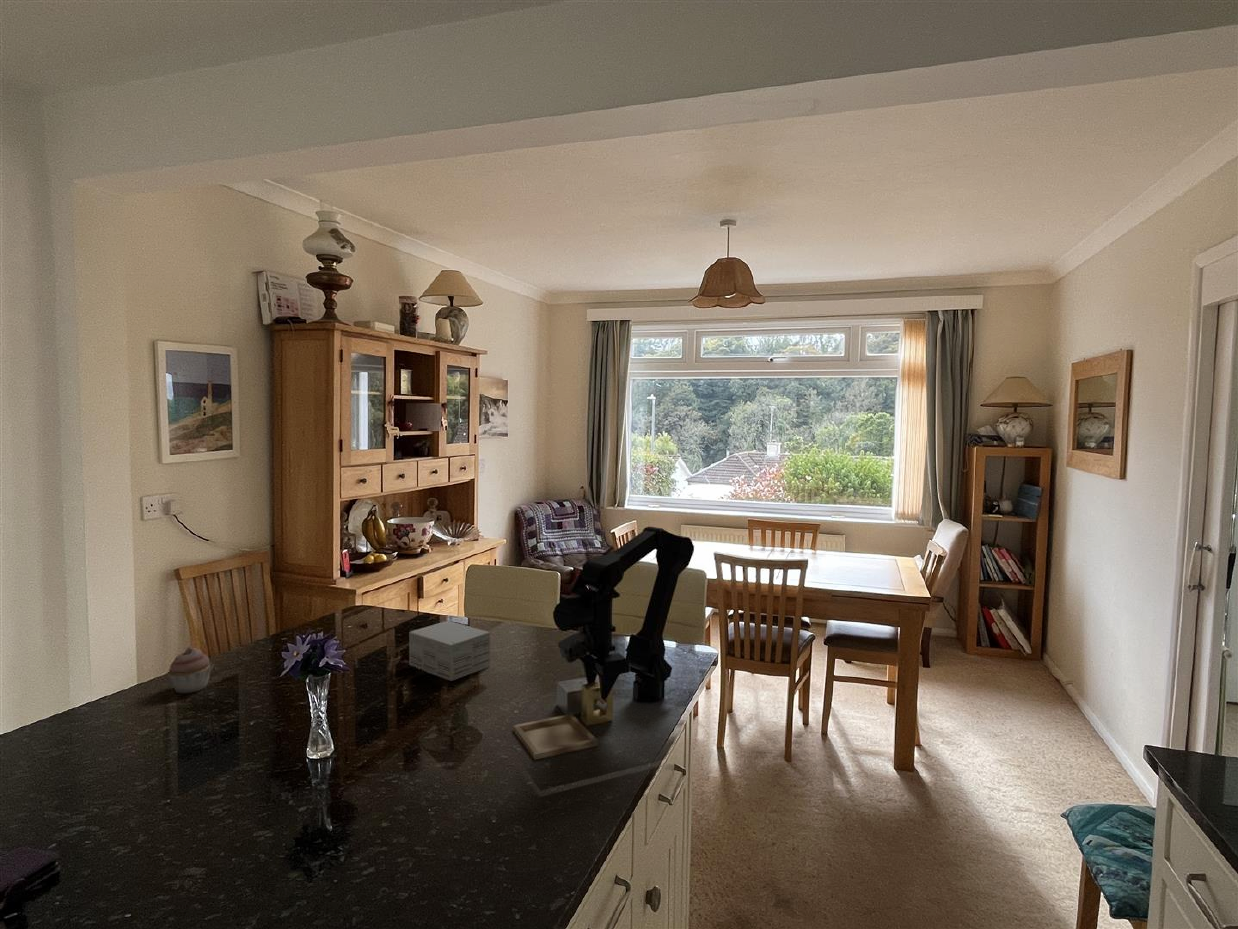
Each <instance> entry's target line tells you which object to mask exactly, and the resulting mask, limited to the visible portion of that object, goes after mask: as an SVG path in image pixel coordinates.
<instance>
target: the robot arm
mask: <svg viewBox="0 0 1238 929" xmlns="http://www.w3.org/2000/svg"><path fill="white" fill-rule="evenodd" d="M654 550H656V551H655V560H656V564H657V568H658V570H657V573H656V577H655V581H654V584H653V588H652V591H651V595H650V597H649V598H650V599H649V602H648V605H647V608H646V611H645V615H644V620H643V623H642V626H641V628H640V630H639V631H638V632H637V633H636V634H633V633H632V634H630V635H629V638H628V643H627V647H626V649H624V652H626V654H625V656H624V655H622V654H621V653H619V652H617V653H612V654H610V653H611V652H615V651H616V645H614V643H613V642H612V640H613V639H612V638H613V633H616V631H617V630H616V628H617V627H616V626H615V625H614V624H613V599H618V598H620V596H621V593H619V592H618V591H617V590H616V589H615V588H616V587H617V586H618V585H619V584H620V583H621V581H623V579H624V576H625V572H626V571H627V570H629V569H630V568H631V567H632V566H634V565H636V563H638V562H639V561H641V560H642V559H644V558H645V557H646V556H648V555H649V554H650V553H651V552H653V551H654ZM694 550H695V545H694V543H693V541H692V539H691V538H690V537H688V536H684V535H683V536H682V535H677V534H674V533H671V532H669V531H667V530H665V529H664V528H661V527H654V526H650V525H649V526H647V527H644V528H643V529H642V531H641V532H640V533H638V534H637V535H636V536H635V535H634V537H632V538H631V539H630V540H628V541H627V542H625V543H624V544H623V545H621V546H619V547H618V548H617V549H616V550H613V551H612V552H610V553H607V554H603V555H599V556H595V557H593V558H591V559H589V560H587V561H586V562H584V564H583V565H582V569H581V570H580V572H579V574H578V576H577V577H576V580H575V582H574V584H573V586H572V587H571V590H570V595H562V596H560V598H559V602H557V604H556V605H555V607H554V610H553V611H552V615H553V616H552V617H553V622H554V624H555V626H556V627H557V628H558V630H560V631H561V632H568V631H571V630H575V629H579V628H580V629H579V631H578V632H577V633H575V634H574V633H573V634H572V635H570V636H567V637H565V638H564V639H562V640H560V641H559V642H558V643H557V646H558V648H559V651H560V655H561V657H562V658H563V659H564V660H565V661H567V663H573V662H575V661H576V660H579V661H580V662H581V664H582V668H583V671H584V675H585V677H586V680H587V684H588V683H594V682H595V680H596V676H597V675H598V676H599V683H600V692H601V698H602V699H606V698H607V697H608V695H609V693H610V691H611V689H612V687H613V688H614V685H615V683H616V682H617V679H618V678H619V677H620V675H622V674H627V673H630V672H631V673H633V674H634V680H633V682H632V699H633V700H635V701H636V702H637V703H648V704H653V703H658V702H660V701H661V700H662V699H665V693H666V692H665V687H666V686H665V684H666V683H665V681H667V680H668V678H670V677H671V674H672V672H673V667H672V666H671V665H670V663H669V662H668V661H667V660H666V659H665V655H666V646H665V645H666V644H665V641H664V636H663V635H664V630H665V627H666V623H667V619H668V616H669V613H670V609H671V606H672V603H673V602H672V600H673V598H674V595H675V590H676V587H677V584H678V580H679V577H680V575H681V574H682V572H683V571H685V569H686V568H688V567H689V565H690V562H691V559H692V557H693V555H694ZM587 587H588V588H587ZM595 589H596V590H595Z"/></svg>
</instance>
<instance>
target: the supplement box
mask: <svg viewBox="0 0 1238 929" xmlns="http://www.w3.org/2000/svg"><path fill="white" fill-rule="evenodd" d="M408 633H409V634H408V636H409V638H408V640H409V641H408V642H409V646H408V647H409V648H408V650H409V653H408V654H409V655H408V656H409V659H408V660H409V665H411V666H410V667H412V666H414V667H416V668H415V669H417V668H418V669H417V670H420V669H422V670H421V671H423V670H424V671H423V672H425V671H426V673H428V674H431V675H434V676H436V677H439V678H442V679H445V680H447V681H451V682H452V681H455V680H458V679H461V678H463V677H467V676H468V675H471V674H474V673H476V672H479V671H481V670H484V669H487V668H490V667H491V631H486V630H483V629H479V628H476V627H471V626H469V625H465V624H461V623H457V622H454V621H452V620H446V621H445V620H444V621H442V622H438V623H435V624H432V625H428V626H425V627H424V626H423V627H422V628H418V629H415V630H411V631H409V632H408ZM414 667H413V668H414Z"/></svg>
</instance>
